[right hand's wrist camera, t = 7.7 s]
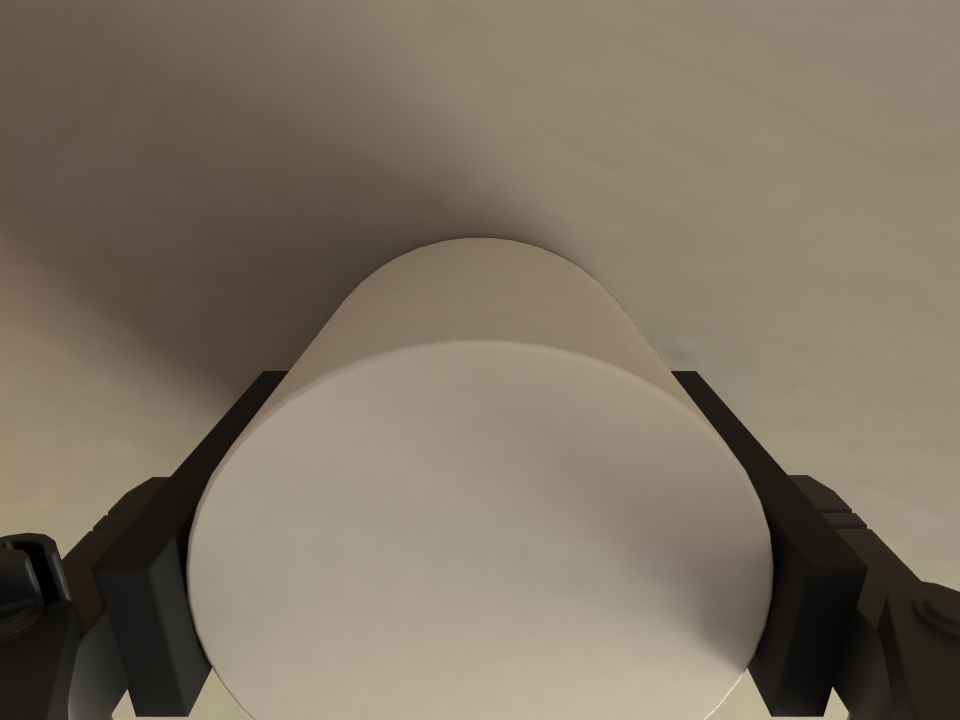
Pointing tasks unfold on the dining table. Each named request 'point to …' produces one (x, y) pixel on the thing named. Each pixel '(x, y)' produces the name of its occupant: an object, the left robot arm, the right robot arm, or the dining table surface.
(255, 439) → the cylinder
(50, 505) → the dining table surface
